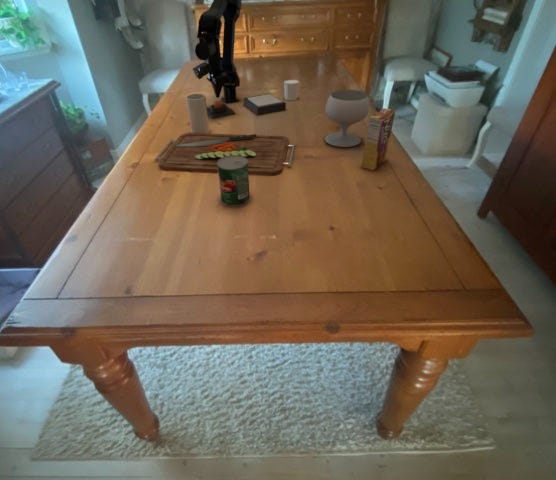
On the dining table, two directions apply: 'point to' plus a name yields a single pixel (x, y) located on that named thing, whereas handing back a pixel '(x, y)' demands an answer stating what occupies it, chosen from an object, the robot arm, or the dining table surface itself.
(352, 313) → the dining table surface
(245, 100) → the scale
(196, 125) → the beaker
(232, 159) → the canned tomato
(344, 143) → the chalice
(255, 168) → the chopping board
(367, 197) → the dining table surface
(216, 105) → the scale button
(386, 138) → the candy box
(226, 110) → the tare pad
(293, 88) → the shot glass
